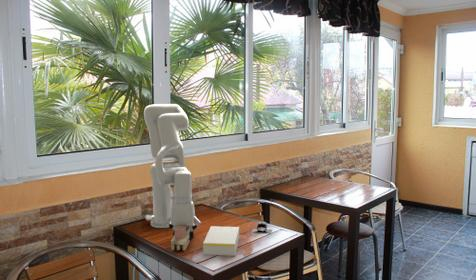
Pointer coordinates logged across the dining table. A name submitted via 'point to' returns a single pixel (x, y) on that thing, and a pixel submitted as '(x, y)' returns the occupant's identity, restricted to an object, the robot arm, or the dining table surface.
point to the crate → (180, 232)
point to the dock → (221, 241)
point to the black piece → (258, 230)
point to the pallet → (181, 241)
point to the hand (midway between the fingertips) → (183, 238)
